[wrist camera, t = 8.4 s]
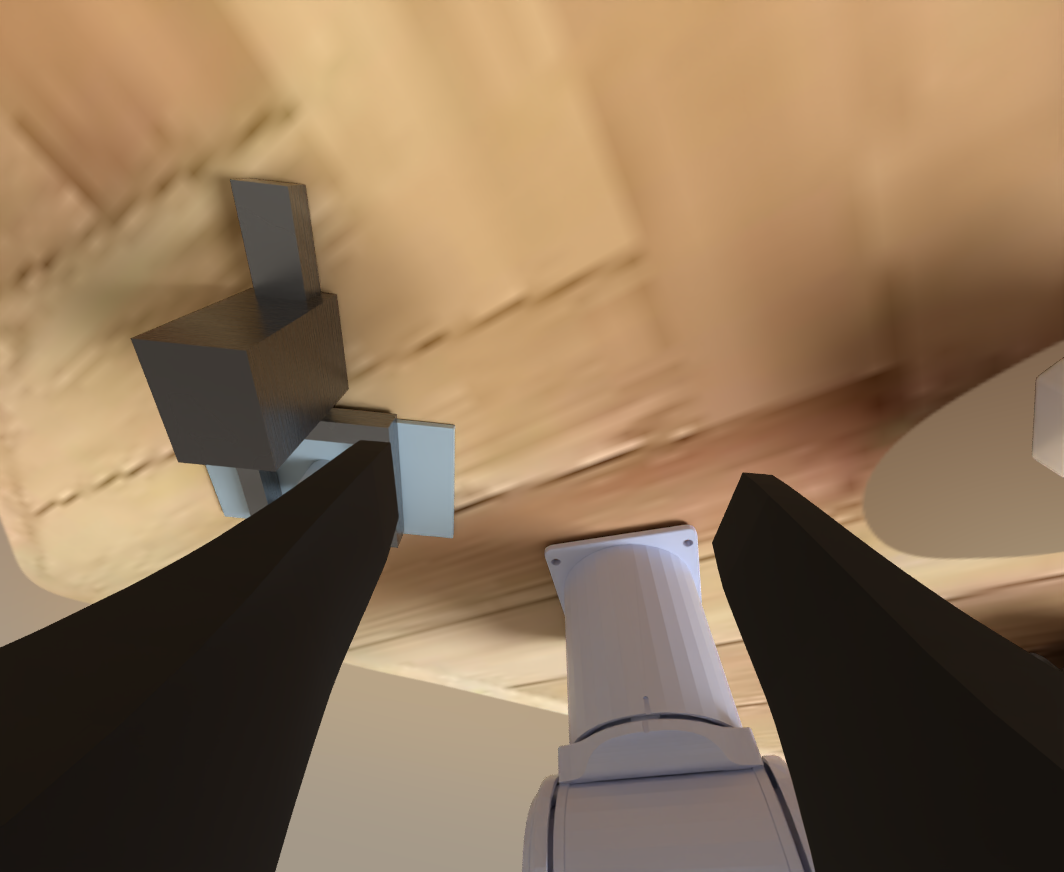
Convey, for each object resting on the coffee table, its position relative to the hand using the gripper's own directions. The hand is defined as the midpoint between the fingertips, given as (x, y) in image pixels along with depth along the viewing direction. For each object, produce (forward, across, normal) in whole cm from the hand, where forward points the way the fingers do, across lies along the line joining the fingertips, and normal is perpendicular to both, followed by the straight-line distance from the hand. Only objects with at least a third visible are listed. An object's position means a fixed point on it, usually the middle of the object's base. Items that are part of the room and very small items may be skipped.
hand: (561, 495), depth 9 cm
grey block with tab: (+10, +10, +3) cm, 14 cm away
